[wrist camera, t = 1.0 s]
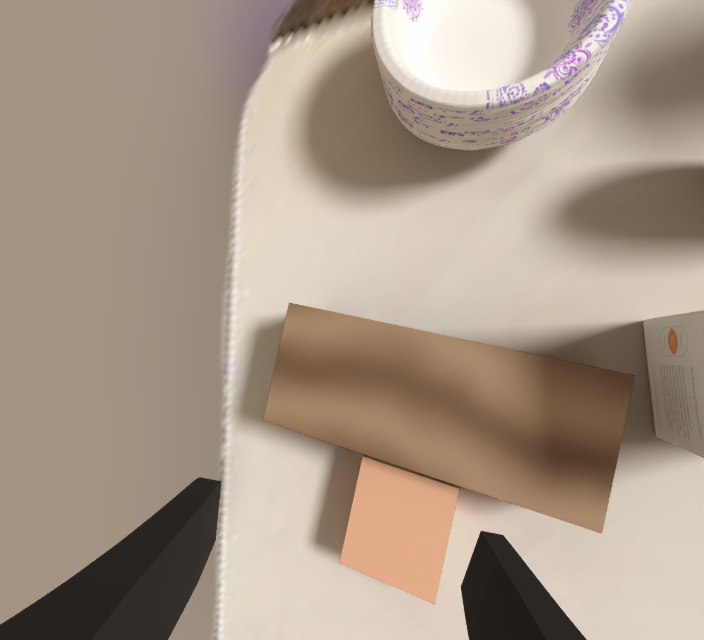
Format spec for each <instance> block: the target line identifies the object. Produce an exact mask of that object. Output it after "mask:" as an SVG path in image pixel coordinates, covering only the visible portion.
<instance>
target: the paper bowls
mask: <svg viewBox="0 0 704 640" xmlns="http://www.w3.org/2000/svg"><path fill="white" fill-rule="evenodd" d="M631 2H632V0H375V1H374V6H373V11H372V17H371V35H372V44H373V49H374V53H375V56H376V60H377V63H378V67H379V72H380V75H381V78H382V81H383V85H384V89H385V93H386V96H387V99H388V101H389V103H390V105H391V108H392V109H393V111H394V113H395V114H396V116H397V117H398V119H399V120H400V121H401V123H402V124H403V125H404V126H405V127H406V128H407V129H408V130H409V131H410V132H411V133H413V134H414V135H415V136H417V137H418V138H420V139H422V140H424V141H426V142H429V143H431V144H434V145H438V146H441V147H445V148H450V149H459V150H480V149H487V148H491V147H497V146H502V145H506V144H509V143H513V142H516V141H518V140H521V139H523V138H525V137H527V136H529V135H531V134H533V133H535V132H537V131H539V130H541V129H542V128H544V127H546V126H547V125H549V124H550V123H552V122H553V121H554V120H555V119H557V118H558V117H559V116H560V115H562V114H563V113H564V112H565V111H566V110H567V109H569V108H570V107H571V106H572V105H573V104H574V103H575V101H576V100H577V99H578V98H579V97H580V96H581V95H582V93H583V92H584V91H585V89H586V88H587V86H588V85H589V83H590V82H591V80H592V79H593V77H594V75H595V74H596V72H597V70H598V68H599V66H600V64H601V62H602V61H603V59H604V57H605V55H606V53H607V51H608V49H609V47H610V44H611V42H612V41H613V39H614V37H615V35H616V34H617V32H618V30H619V28H620V26H621V24H622V22H623V20H624V18H625V16H626V14H627V12H628V10H629V8H630V5H631Z"/></svg>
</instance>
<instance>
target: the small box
mask: <svg viewBox="0 0 704 640" xmlns="http://www.w3.org/2000/svg"><path fill="white" fill-rule="evenodd" d="M643 326H644V335H645V345H646V354H647V363H648V372H649V381H650V390H651V399H652V407H653V416H654V424H655V432H656V437H658V438H660V439H662V440H665V441H667V442H669V443H671V444H674V445H676V446H678V447H681V448H683V449H685V450H687V451H689V452H692V453H694V454H696V455H698V456H701V457H703V458H704V311H697V312H690V313H684V314H677V315H671V316H665V317H658V318H652V319H648V320H644V321H643Z"/></svg>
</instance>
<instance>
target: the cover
mask: <svg viewBox="0 0 704 640" xmlns="http://www.w3.org/2000/svg"><path fill="white" fill-rule="evenodd" d="M458 493H459V486H458V485H455V484H452V483H449V482H446V481H443V480H440V479H437V478H434V477H431V476H428V475H425V474H422V473H419V472H416V471H413V470H410V469H407V468H404V467H401V466H398V465H395V464H392V463H389V462H386V461H383V460H380V459H377V458H374V457H371V456H368V455H365V454H364V455H363V457H362V462H361V466H360V471H359V475H358V480H357V485H356V489H355V494H354V499H353V503H352V508H351V512H350V517H349V522H348V526H347V531H346V535H345V540H344V545H343V549H342V554H341V558H340V563H342V564H344V565H346V566H348V567H351V568H353V569H355V570H357V571H360V572H362V573H364V574H367V575H369V576H371V577H373V578H376V579H378V580H380V581H382V582H385V583H387V584H389V585H391V586H394V587H396V588H398V589H400V590H403V591H405V592H407V593H410V594H412V595H414V596H416V597H419V598H421V599H423V600H425V601H428V602H430V603H432V604H434V605H435V601H436V596H437V591H438V587H439V582H440V577H441V573H442V568H443V563H444V559H445V554H446V549H447V545H448V540H449V535H450V531H451V526H452V521H453V516H454V512H455V507H456V502H457V498H458Z"/></svg>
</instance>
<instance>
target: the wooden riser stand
mask: <svg viewBox="0 0 704 640" xmlns="http://www.w3.org/2000/svg"><path fill="white" fill-rule="evenodd" d="M634 377H635V376H634V375H629V374H625V373H620V372H615V371H610V370H606V369H601V368H596V367H591V366H587V365H582V364H577V363H572V362H568V361H563V360H558V359H554V358H549V357H544V356H539V355H535V354H530V353H525V352H520V351H516V350H511V349H506V348H501V347H497V346H492V345H487V344H482V343H478V342H473V341H468V340H464V339H459V338H454V337H449V336H445V335H440V334H435V333H430V332H426V331H421V330H416V329H411V328H407V327H402V326H397V325H392V324H388V323H383V322H378V321H373V320H369V319H364V318H359V317H355V316H350V315H345V314H340V313H336V312H331V311H326V310H321V309H317V308H312V307H307V306H302V305H298V304H293V303H289V306H288V310H287V315H286V319H285V324H284V328H283V333H282V337H281V342H280V346H279V351H278V355H277V360H276V364H275V369H274V373H273V378H272V382H271V387H270V391H269V396H268V400H267V405H266V409H265V414H264V419H263V421H266V422H269V423H272V424H275V425H278V426H281V427H284V428H287V429H290V430H293V431H296V432H299V433H302V434H305V435H308V436H311V437H314V438H317V439H320V440H323V441H326V442H329V443H332V444H335V445H338V446H341V447H344V448H347V449H350V450H353V451H356V452H359V453H362V454H365V455H368V456H371V457H374V458H377V459H380V460H383V461H386V462H389V463H392V464H395V465H398V466H401V467H404V468H407V469H410V470H413V471H416V472H419V473H422V474H425V475H428V476H431V477H434V478H437V479H440V480H443V481H446V482H449V483H452V484H455V485H458V486H461V487H464V488H467V489H470V490H473V491H476V492H479V493H482V494H485V495H488V496H491V497H494V498H497V499H500V500H503V501H506V502H509V503H512V504H515V505H518V506H521V507H524V508H527V509H530V510H533V511H536V512H539V513H542V514H545V515H548V516H551V517H554V518H557V519H560V520H563V521H566V522H569V523H572V524H575V525H578V526H581V527H584V528H587V529H590V530H593V531H596V532H599V533H602V531H603V526H604V521H605V516H606V511H607V507H608V502H609V497H610V492H611V487H612V483H613V478H614V473H615V468H616V463H617V458H618V454H619V449H620V444H621V439H622V434H623V430H624V425H625V420H626V415H627V410H628V406H629V401H630V396H631V391H632V386H633V382H634Z"/></svg>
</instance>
